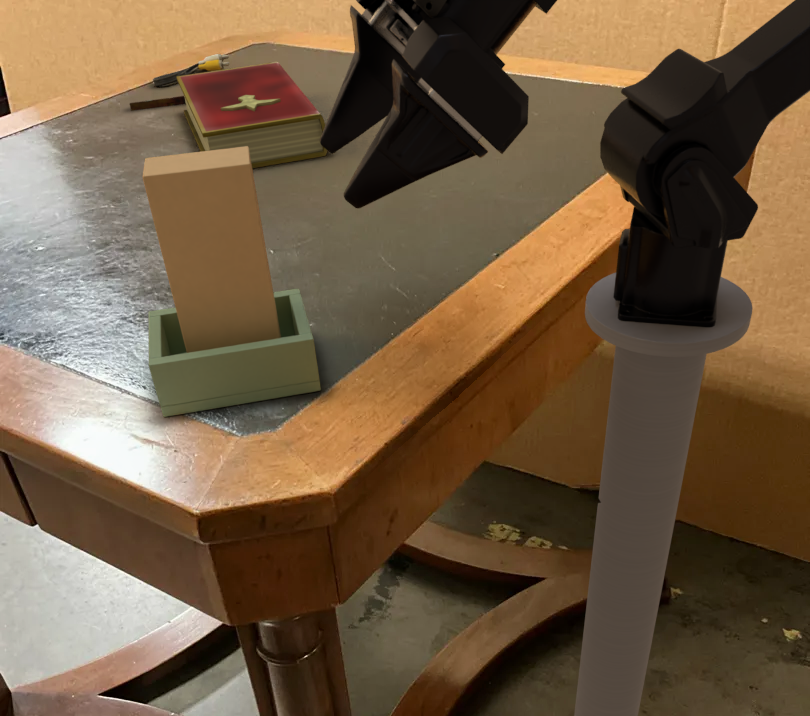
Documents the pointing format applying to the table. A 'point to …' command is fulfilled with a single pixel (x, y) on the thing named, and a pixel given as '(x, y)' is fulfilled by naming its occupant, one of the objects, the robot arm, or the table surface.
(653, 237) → the robot arm
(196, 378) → the holder
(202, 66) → the composite cable
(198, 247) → the tan rectangular block
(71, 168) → the table surface
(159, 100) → the dark brown stick
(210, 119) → the hardcover book
